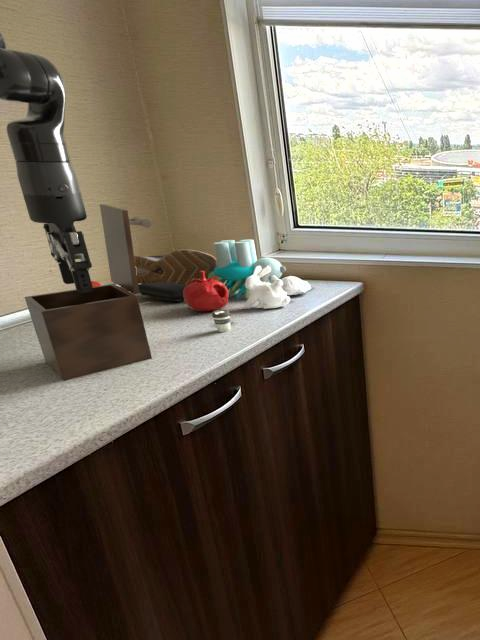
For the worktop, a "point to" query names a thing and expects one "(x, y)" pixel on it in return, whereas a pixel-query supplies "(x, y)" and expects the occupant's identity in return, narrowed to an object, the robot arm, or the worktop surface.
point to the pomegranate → (206, 294)
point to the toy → (241, 265)
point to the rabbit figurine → (265, 291)
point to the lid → (121, 245)
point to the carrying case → (163, 290)
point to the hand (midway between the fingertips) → (78, 287)
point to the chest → (89, 330)
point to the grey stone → (294, 285)
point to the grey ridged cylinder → (222, 320)
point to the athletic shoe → (174, 267)
